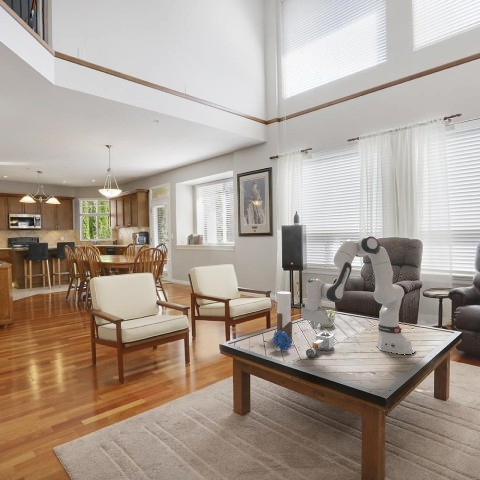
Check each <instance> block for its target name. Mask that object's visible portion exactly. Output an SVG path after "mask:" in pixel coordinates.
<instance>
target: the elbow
mask: <svg viewBox="0 0 480 480" xmlns="http://www.w3.org/2000/svg"><path fill="white" fill-rule="evenodd" d="M322 333H323V332H320V333H317V334H316V335H315V341H312V347H316V348H317V349H318V350H319V348H324V349H330V348H332V347H335V334H332V333H328V334H329V337H325V336H322Z"/></svg>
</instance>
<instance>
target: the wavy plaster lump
mask: <svg viewBox="0 0 480 480" xmlns="http://www.w3.org/2000/svg"><path fill="white" fill-rule="evenodd" d="M326 311H327V315H328V323H327V324H320V323H319V324H318V325H319V326H320V327H323V328H326V327H327V328H332V327H333V325H334V323H335V319H336V312H335V311H334V310H332V309H329V310H328V309H326Z"/></svg>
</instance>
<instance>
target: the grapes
mask: <svg viewBox="0 0 480 480" xmlns="http://www.w3.org/2000/svg"><path fill="white" fill-rule="evenodd" d="M272 340H273V342H274V346H275V347H277V348H279V350H280V351H288V350H289V348H291V347H292V343H290V341H291V339H290V337H287V333H285V332H284V333H283V332H282V331H280V330H279V331H278V333H277V331H276V332H274V333H273V337H272Z"/></svg>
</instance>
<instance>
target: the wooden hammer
mask: <svg viewBox="0 0 480 480" xmlns="http://www.w3.org/2000/svg"><path fill="white" fill-rule="evenodd" d="M279 330H280V331H283V332H285V333H287V337H290V339H291V341H290V343H291V344H293V321H292V320H291V322H289V323H288V324H287V325H286V326H285V327H284V328H282V313H277V312H276V332H277V333H278V331H279Z"/></svg>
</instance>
